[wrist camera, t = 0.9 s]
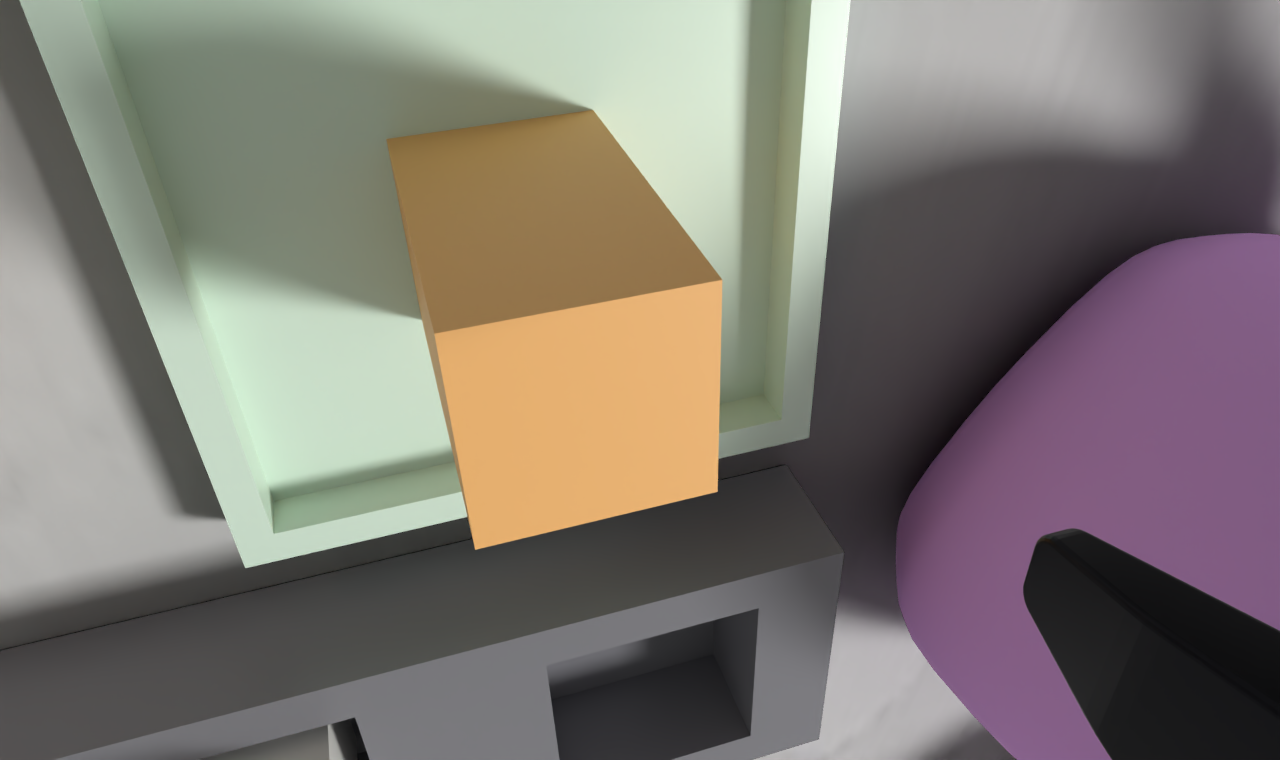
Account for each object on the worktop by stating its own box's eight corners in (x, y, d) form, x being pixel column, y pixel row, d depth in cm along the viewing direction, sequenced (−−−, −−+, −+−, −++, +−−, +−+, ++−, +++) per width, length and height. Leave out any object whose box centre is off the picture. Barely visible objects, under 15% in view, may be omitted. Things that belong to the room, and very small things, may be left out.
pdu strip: (786, 464, 27) (844, 552, 24) (771, 648, 31) (818, 739, 29) (-6, 652, 22) (-46, 785, 20) (116, 833, 27) (97, 961, 24)
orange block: (593, 110, 19) (722, 280, 13) (604, 286, 21) (717, 491, 16) (386, 138, 18) (434, 333, 12) (421, 319, 20) (475, 549, 15)
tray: (828, -193, 17) (867, -185, 16) (784, 403, 25) (808, 438, 24) (-3, -133, 14) (-27, -116, 13) (246, 522, 22) (245, 568, 21)
